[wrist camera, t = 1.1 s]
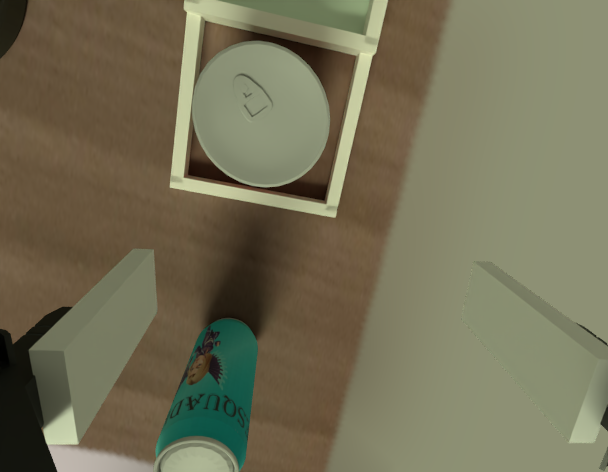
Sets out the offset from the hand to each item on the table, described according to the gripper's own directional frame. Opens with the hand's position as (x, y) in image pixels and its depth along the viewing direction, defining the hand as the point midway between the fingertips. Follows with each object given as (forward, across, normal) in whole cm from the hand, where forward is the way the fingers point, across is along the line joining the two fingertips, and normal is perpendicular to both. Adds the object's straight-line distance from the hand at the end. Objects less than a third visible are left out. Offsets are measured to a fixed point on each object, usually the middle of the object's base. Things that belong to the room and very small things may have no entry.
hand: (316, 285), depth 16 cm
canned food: (+19, -3, +6) cm, 20 cm away
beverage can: (+19, -6, -15) cm, 25 cm away
